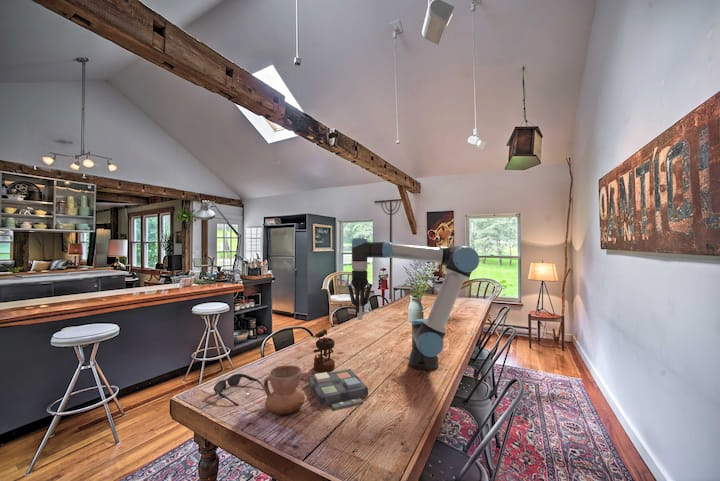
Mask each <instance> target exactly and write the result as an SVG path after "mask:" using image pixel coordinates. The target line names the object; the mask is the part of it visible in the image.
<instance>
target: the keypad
mask: <svg viewBox="0 0 720 481" xmlns="http://www.w3.org/2000/svg"><path fill="white" fill-rule="evenodd" d="M343 372H348V373H349V374H350V375H351V376H352V377H348V378H343V379H339V378H338V376H337V375H336V374H338V373H343ZM327 373H328V375H329V376H330V381H327V382H322V383H317V382H316V380H315V374H313V375H309V376H307V377H308V378H307V379H308V381H307V383H308V387H309V388H310V391H312V394H313V395H314V397H315V400H316V401H317V403H318V405H319V407H320V408H322V407H326V406H331V404H333V403H338V402H342V401H346V400H351V399H355V398H361V399H362V398H366V397H369V387H368V386H367V385H366V384H365V383H364V382H363V381H362V380H361V379H360V378H359V376H357V375H356V374H355V372H354V371H353V370H352V369H351V368H347V369H342V370H336V371H331V372H327ZM354 377H356V378H357V379H358V380H359V381H360V383H361V387H357V388H352V389H347V388H346V386H345V385H344V379H349V378H354ZM332 385H334V387H335V388H336V389H337V391H338V392H333V393H328V394H323V392H322V390H321V388H322V387H327V386H332Z"/></svg>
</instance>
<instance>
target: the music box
mask: <svg viewBox="0 0 720 481" xmlns="http://www.w3.org/2000/svg"><path fill="white" fill-rule="evenodd" d="M327 336H328V330H327V329H326V328H325V329H323V330H321V331H319V332H317V333H316V334H314V335H311V338H312V339H314V338H315V339H316V341H315V349H313V353H314V354H315V356H314V358H313V361H314V362H313V370H314V372H316V373H318V374H319V373H324V372H327V373H330V372H334V370H335V369H336V364H335V363H336V362H335V360H334V359H333V358H331V354H333V353H334V350H333V349H334V348H335V340H334V339H333V338H330V337H327ZM317 353H318V354H317Z"/></svg>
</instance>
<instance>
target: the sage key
mask: <svg viewBox="0 0 720 481" xmlns="http://www.w3.org/2000/svg"><path fill="white" fill-rule="evenodd" d="M321 390H322V392H323V394H328V393H333V392H338V391H337V389H336V388H335V387H334V385H332V386H327V387H322V388H321Z"/></svg>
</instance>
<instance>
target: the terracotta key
mask: <svg viewBox="0 0 720 481" xmlns="http://www.w3.org/2000/svg"><path fill="white" fill-rule="evenodd" d="M336 375H337V376H338V378H339V379H343V378H348V377H352V376H351V375H350V374H349V373H348V372H343V373H338V374H336Z"/></svg>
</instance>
